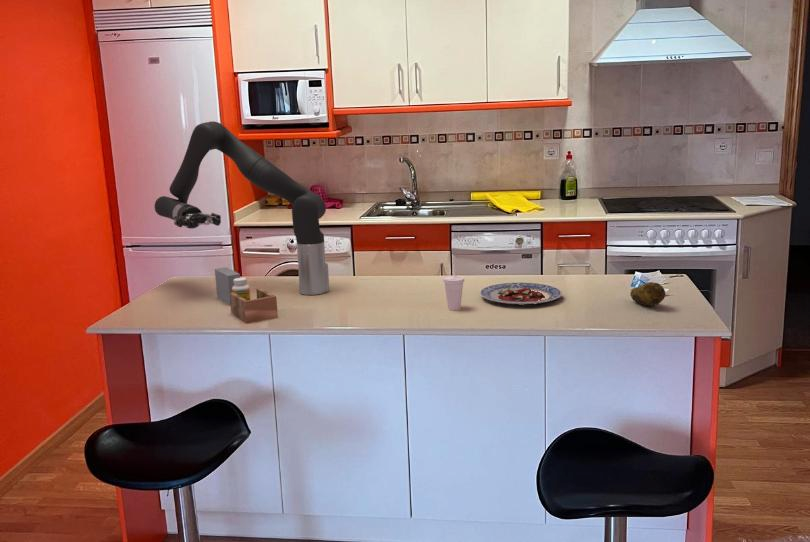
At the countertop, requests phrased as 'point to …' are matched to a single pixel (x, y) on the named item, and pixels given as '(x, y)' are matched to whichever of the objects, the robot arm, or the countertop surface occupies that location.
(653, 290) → the potato
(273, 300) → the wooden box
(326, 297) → the countertop surface
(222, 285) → the grey rectangular box
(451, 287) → the smoothie
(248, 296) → the supplement bottle
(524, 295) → the ceramic plate
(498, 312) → the countertop surface
